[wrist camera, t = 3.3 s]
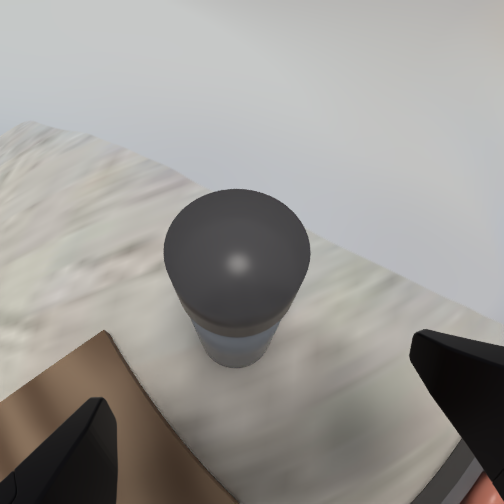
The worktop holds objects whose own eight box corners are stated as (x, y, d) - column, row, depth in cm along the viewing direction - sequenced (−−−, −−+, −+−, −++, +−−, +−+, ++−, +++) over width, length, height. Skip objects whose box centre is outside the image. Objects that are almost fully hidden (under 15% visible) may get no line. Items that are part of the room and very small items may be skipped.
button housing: (447, 553, 9) (468, 560, 6) (399, 515, 12) (421, 525, 10) (507, 473, 12) (529, 472, 10) (470, 425, 15) (495, 421, 13)
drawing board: (73, 572, 7) (68, 576, 6) (-22, 424, 12) (-30, 423, 11) (239, 503, 13) (239, 507, 12) (109, 333, 18) (103, 329, 17)
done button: (467, 527, 9) (491, 533, 7) (446, 508, 11) (472, 514, 8) (498, 484, 11) (523, 485, 8) (480, 462, 12) (507, 461, 10)
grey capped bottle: (229, 383, 17) (221, 348, 8) (186, 327, 19) (139, 233, 9) (285, 340, 19) (339, 256, 9) (241, 288, 20) (249, 171, 11)
